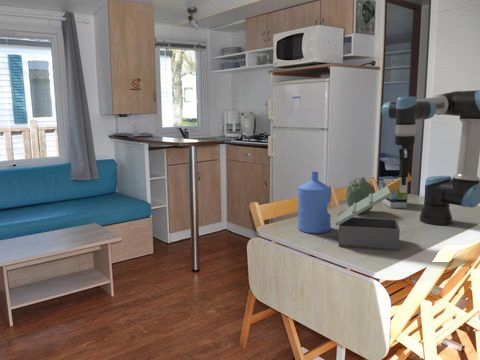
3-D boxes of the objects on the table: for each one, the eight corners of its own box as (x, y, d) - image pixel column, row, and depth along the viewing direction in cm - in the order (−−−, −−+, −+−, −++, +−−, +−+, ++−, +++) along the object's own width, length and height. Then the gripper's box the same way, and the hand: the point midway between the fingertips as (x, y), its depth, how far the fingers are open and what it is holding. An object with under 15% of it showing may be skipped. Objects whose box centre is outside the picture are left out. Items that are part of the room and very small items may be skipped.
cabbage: (379, 210, 239) (381, 175, 236) (369, 218, 224) (370, 181, 220) (352, 207, 248) (353, 173, 245) (340, 214, 233) (341, 178, 229)
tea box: (407, 208, 245) (408, 182, 242) (389, 208, 245) (391, 183, 243) (398, 202, 260) (399, 178, 257) (381, 202, 260) (382, 178, 257)
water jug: (309, 235, 197) (309, 175, 192) (291, 227, 211) (292, 171, 206) (337, 231, 203) (338, 173, 198) (318, 223, 217) (319, 168, 212)
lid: (410, 175, 184) (407, 170, 184) (414, 182, 168) (410, 176, 168) (339, 216, 196) (335, 211, 196) (336, 226, 180) (333, 220, 180)
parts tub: (396, 239, 190) (397, 219, 188) (398, 250, 175) (399, 229, 173) (340, 235, 197) (341, 216, 195) (338, 246, 182) (339, 225, 180)
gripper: (393, 133, 183) (392, 187, 187) (396, 136, 167) (394, 195, 171) (412, 133, 181) (410, 188, 185) (417, 136, 165) (414, 195, 169)
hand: (402, 191), depth 178 cm, fingers closed on lid, 3 cm apart
